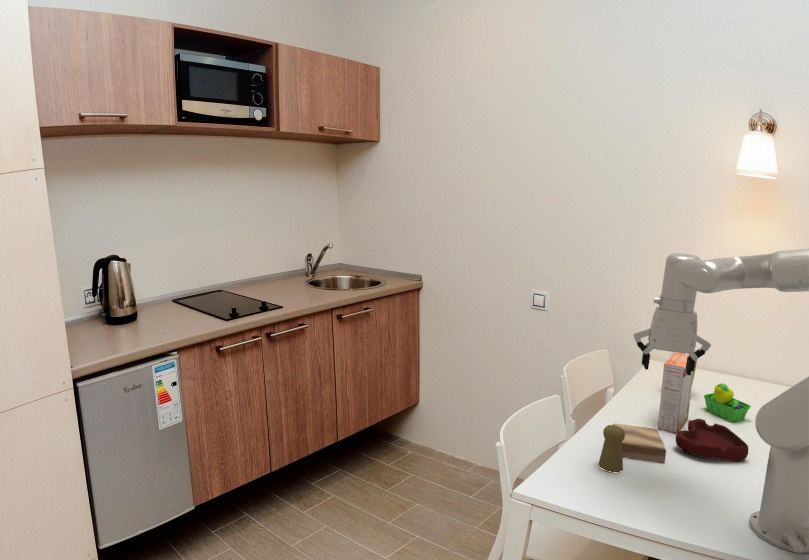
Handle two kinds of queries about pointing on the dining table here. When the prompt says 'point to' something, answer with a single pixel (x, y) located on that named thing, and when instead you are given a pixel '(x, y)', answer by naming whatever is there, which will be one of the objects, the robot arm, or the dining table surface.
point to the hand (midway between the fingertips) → (666, 370)
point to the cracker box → (675, 394)
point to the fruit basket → (725, 404)
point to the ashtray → (711, 441)
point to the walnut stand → (642, 443)
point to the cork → (612, 449)
